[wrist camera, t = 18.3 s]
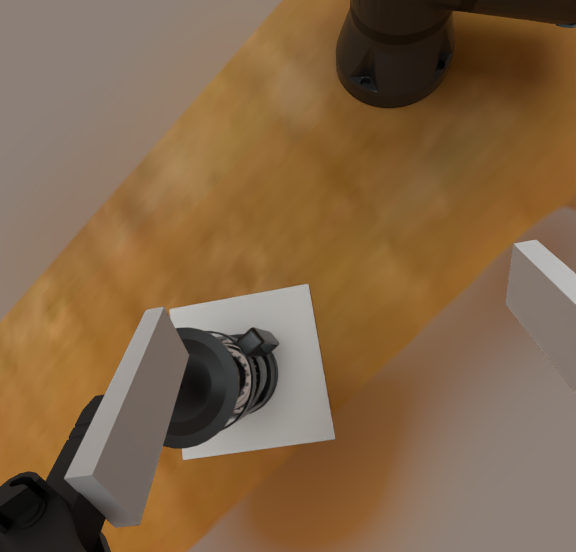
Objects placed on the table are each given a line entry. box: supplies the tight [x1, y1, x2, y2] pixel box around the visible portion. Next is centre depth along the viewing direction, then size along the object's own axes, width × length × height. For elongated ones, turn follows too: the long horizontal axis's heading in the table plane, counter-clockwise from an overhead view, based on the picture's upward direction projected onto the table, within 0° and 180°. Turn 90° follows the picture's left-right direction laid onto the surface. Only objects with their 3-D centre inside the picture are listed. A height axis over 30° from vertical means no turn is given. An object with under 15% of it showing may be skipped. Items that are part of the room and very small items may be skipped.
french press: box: [163, 327, 280, 449], centre depth 34 cm, size 12×9×23 cm
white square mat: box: [170, 284, 335, 460], centre depth 46 cm, size 18×18×1 cm
